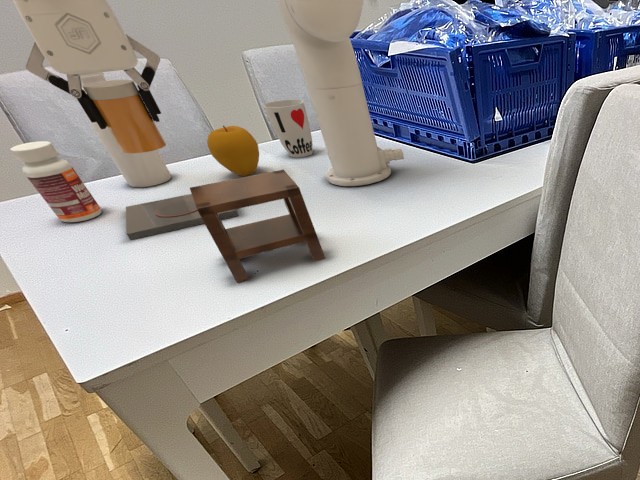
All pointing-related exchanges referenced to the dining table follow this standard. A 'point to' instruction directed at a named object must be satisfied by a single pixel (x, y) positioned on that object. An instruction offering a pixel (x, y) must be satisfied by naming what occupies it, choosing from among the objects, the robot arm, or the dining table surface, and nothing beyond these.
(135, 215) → the hob
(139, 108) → the honey jar
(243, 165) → the apple
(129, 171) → the milk bottle
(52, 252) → the dining table surface
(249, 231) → the rack
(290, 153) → the cup
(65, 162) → the pill bottle
